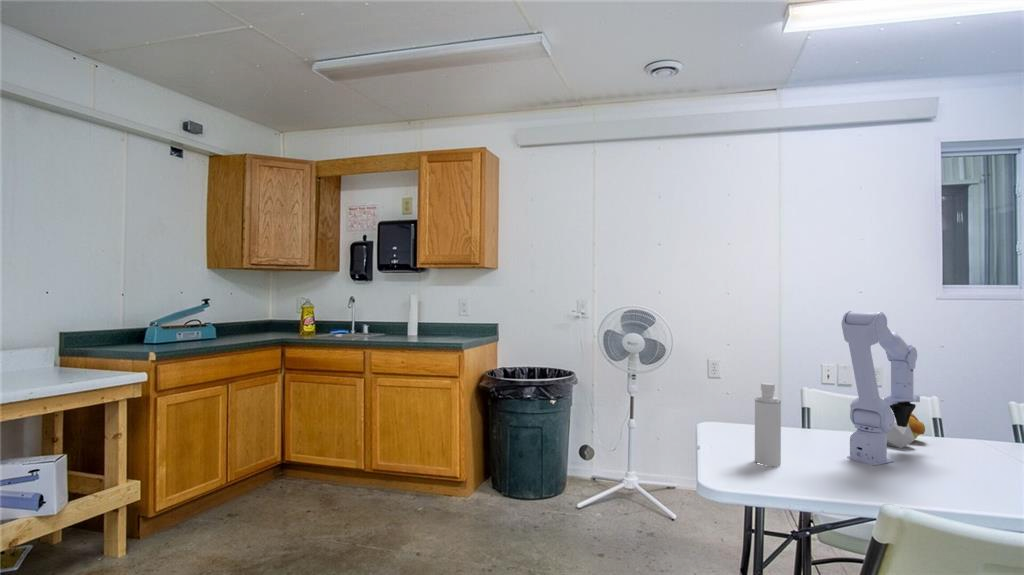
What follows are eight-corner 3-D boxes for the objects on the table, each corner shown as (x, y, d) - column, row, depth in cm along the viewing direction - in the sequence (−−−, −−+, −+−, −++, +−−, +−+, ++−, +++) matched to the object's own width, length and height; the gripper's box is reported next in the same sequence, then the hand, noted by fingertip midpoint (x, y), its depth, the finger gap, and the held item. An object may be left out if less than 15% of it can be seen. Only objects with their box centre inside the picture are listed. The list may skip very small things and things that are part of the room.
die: (920, 451, 167) (904, 447, 177) (918, 421, 169) (903, 419, 178) (889, 448, 169) (875, 445, 179) (887, 419, 171) (874, 417, 180)
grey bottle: (783, 470, 148) (783, 380, 149) (757, 469, 150) (758, 379, 150) (776, 463, 155) (777, 376, 155) (752, 461, 156) (752, 375, 157)
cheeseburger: (886, 427, 190) (902, 404, 187) (917, 448, 182) (935, 424, 179) (874, 429, 184) (890, 405, 181) (906, 450, 176) (924, 425, 173)
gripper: (900, 386, 162) (900, 431, 161) (930, 383, 167) (930, 427, 167) (876, 382, 168) (877, 426, 168) (906, 379, 174) (906, 422, 174)
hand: (902, 426), depth 168 cm, fingers closed
